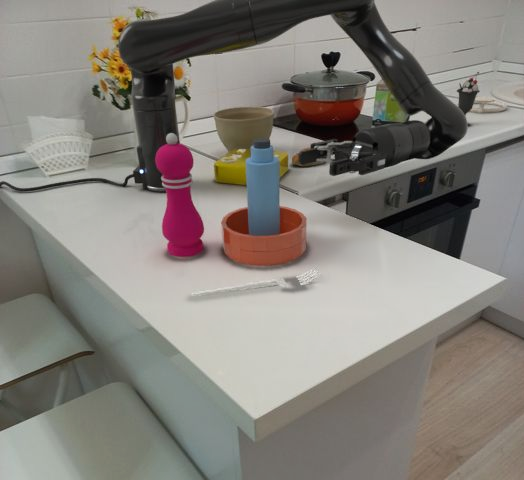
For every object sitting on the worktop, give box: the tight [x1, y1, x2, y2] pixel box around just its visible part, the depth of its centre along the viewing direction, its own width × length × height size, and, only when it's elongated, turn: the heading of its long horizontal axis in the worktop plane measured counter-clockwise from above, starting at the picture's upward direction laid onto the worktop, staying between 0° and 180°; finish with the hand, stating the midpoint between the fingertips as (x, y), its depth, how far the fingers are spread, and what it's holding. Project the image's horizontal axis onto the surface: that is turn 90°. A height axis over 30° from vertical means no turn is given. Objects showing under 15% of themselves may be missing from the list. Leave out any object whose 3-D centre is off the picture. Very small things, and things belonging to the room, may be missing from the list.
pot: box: [220, 205, 308, 267], centre depth 87 cm, size 15×15×6 cm
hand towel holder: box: [469, 96, 508, 114], centre depth 178 cm, size 17×4×21 cm
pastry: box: [291, 146, 326, 168], centre depth 130 cm, size 9×7×4 cm
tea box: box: [370, 78, 411, 128], centre depth 150 cm, size 15×10×15 cm
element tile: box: [213, 149, 289, 186], centre depth 122 cm, size 15×15×5 cm
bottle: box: [246, 138, 281, 236], centre depth 83 cm, size 5×5×18 cm
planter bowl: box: [213, 106, 275, 153], centre depth 136 cm, size 16×16×11 cm
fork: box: [191, 267, 321, 297], centre depth 77 cm, size 3×20×2 cm, turn 103°
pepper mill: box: [155, 133, 205, 258], centre depth 83 cm, size 7×7×20 cm
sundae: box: [456, 71, 481, 127], centre depth 156 cm, size 7×7×15 cm
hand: (314, 163), depth 86 cm, fingers open, 8 cm apart
